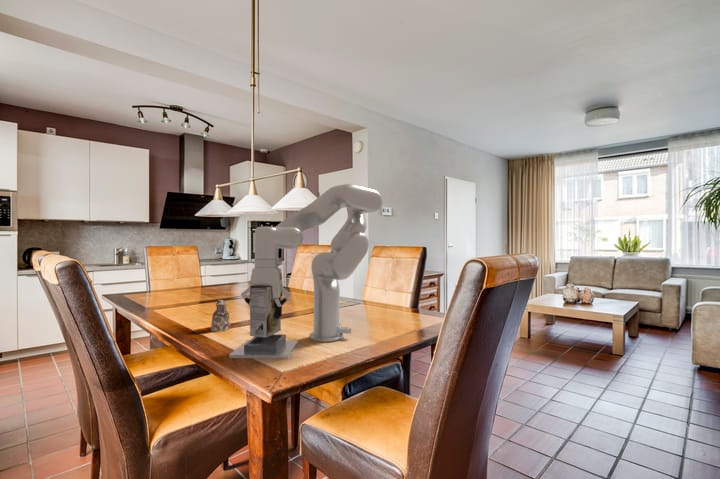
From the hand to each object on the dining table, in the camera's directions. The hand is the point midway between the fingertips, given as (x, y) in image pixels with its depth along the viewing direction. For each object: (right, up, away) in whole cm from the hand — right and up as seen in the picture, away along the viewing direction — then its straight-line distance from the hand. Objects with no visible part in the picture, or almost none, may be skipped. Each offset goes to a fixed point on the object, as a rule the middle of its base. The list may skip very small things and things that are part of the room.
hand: (265, 317), depth 117 cm
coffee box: (0, -5, 0) cm, 5 cm away
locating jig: (0, -11, 0) cm, 11 cm away
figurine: (-25, -11, +27) cm, 38 cm away
